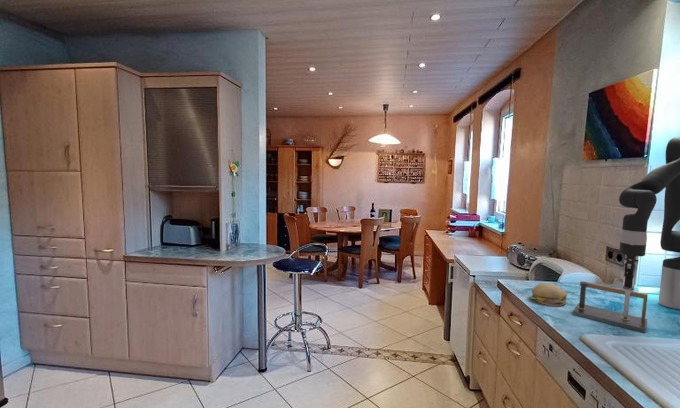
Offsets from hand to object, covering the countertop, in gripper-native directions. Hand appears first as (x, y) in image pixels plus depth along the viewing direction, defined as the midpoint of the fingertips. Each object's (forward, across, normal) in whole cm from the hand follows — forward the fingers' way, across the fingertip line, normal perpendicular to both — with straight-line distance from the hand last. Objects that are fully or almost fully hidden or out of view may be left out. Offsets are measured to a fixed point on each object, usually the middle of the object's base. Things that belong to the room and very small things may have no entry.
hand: (628, 285), depth 129 cm
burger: (+15, -3, -27) cm, 31 cm away
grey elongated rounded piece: (+13, -1, 0) cm, 13 cm away
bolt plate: (+15, 0, -5) cm, 15 cm away
